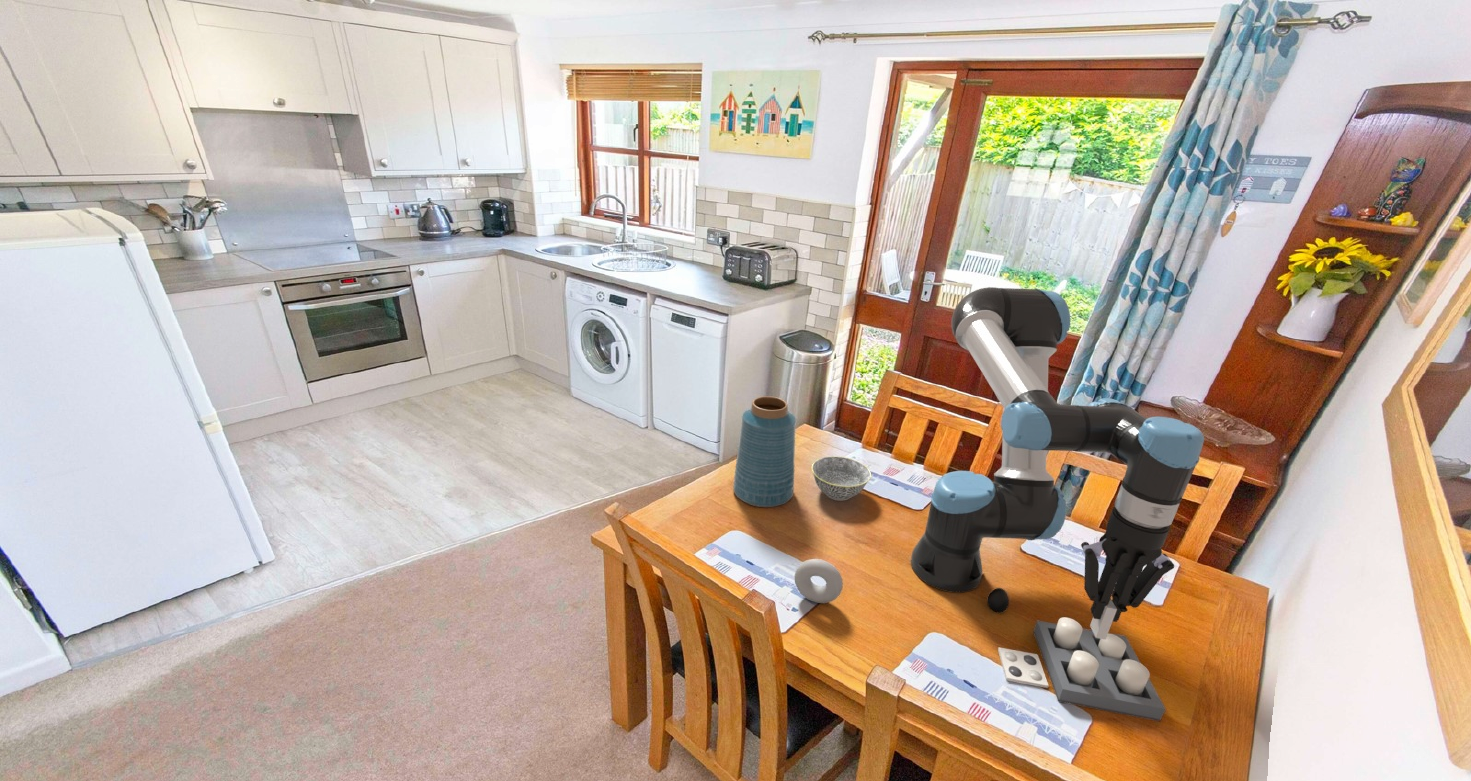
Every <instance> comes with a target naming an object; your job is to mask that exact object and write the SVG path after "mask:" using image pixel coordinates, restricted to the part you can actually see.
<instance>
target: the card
mask: <svg viewBox="0 0 1471 781" xmlns="http://www.w3.org/2000/svg"><path fill="white" fill-rule="evenodd" d="M997 650H998V655H999V656H998V657H999V658H1000V664H1001V666H1002V669H1003V674H1004V678H1005V680H1006V681H1009V682H1015V683H1020V684H1025V685H1030V686H1034V687H1040V688H1045V689H1048V688H1049V683H1048V680H1047V678H1046V677H1047V676H1046V674H1045V671H1044V669H1043V666H1042V663H1041V661H1040V660H1041V659H1040V658H1039V657H1040V656H1039V655H1038V654H1037V653H1032V652H1027V651H1022V650H1021V651H1020V650H1017V649H1016V650H1014V649H1010V648H1005V647H997Z"/></svg>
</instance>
